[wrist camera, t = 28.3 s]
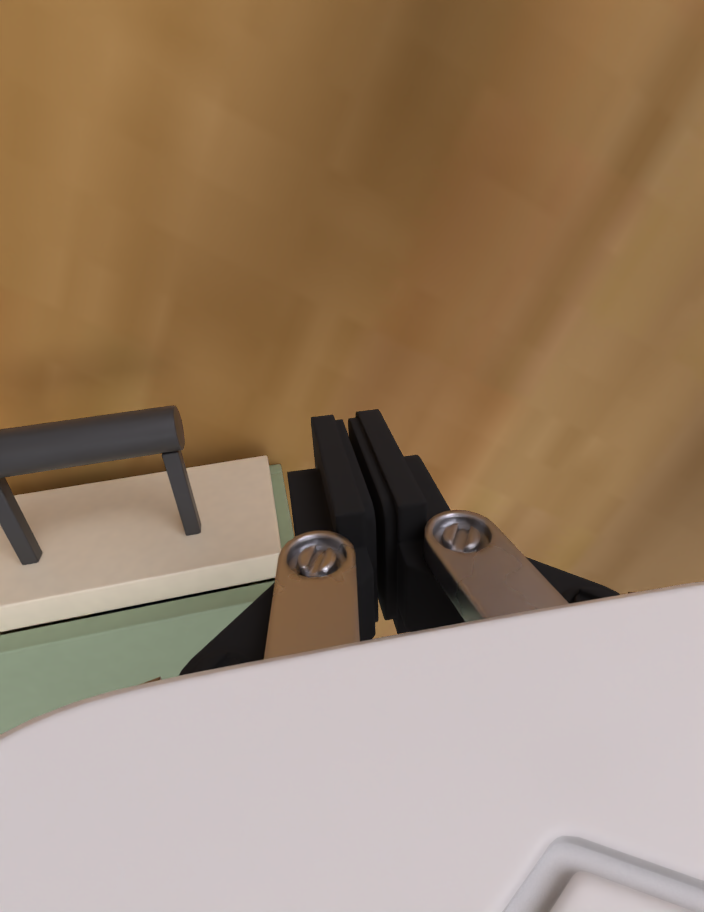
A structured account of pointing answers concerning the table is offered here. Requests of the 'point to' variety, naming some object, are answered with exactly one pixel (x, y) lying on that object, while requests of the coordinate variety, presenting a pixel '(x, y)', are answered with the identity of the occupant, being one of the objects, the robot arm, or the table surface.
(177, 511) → the drawer
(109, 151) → the table surface
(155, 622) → the cabinet
